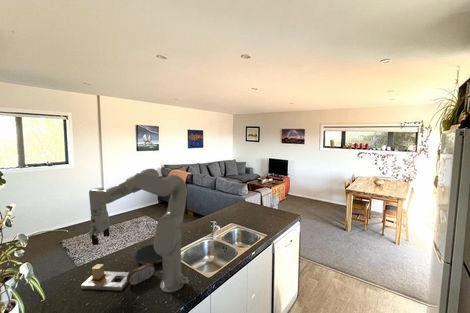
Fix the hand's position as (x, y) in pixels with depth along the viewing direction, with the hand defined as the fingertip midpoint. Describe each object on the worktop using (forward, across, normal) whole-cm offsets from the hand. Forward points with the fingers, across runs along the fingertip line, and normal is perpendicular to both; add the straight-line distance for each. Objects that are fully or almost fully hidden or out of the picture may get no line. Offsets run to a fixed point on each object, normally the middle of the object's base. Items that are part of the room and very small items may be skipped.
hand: (101, 240), depth 124 cm
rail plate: (+22, -3, -4) cm, 23 cm away
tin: (+23, -2, -22) cm, 32 cm away
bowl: (+23, +19, -20) cm, 36 cm away
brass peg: (+22, -3, +1) cm, 23 cm away
